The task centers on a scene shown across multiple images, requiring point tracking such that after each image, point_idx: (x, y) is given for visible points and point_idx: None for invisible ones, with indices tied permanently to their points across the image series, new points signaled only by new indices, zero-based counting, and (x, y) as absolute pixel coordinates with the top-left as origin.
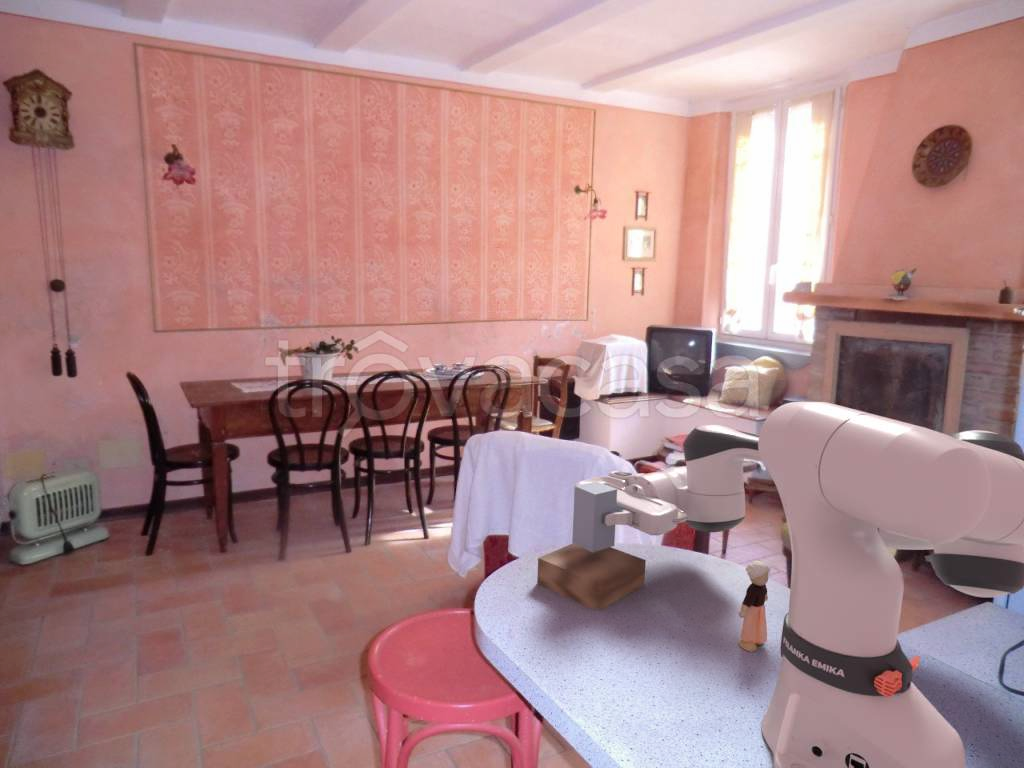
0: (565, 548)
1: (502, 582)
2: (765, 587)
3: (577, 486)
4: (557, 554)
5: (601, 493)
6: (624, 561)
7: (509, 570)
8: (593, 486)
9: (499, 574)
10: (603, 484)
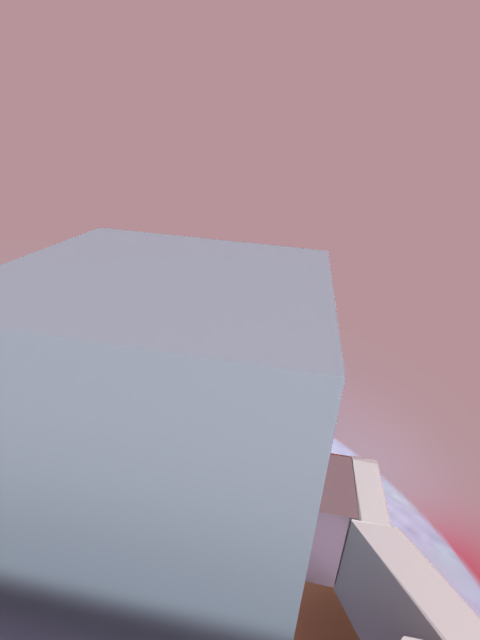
0: None
1: (389, 513)
2: None
3: (310, 252)
4: (333, 593)
5: (64, 245)
6: None
7: (469, 590)
8: (213, 277)
9: (447, 544)
10: (153, 339)
